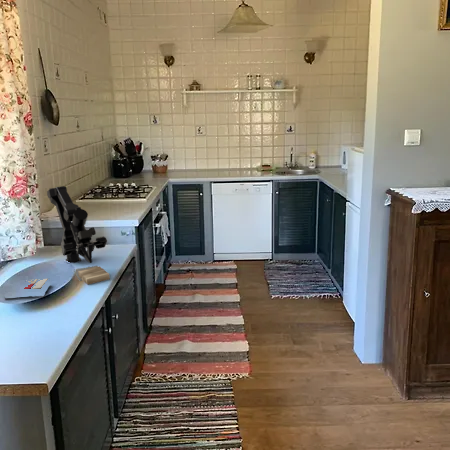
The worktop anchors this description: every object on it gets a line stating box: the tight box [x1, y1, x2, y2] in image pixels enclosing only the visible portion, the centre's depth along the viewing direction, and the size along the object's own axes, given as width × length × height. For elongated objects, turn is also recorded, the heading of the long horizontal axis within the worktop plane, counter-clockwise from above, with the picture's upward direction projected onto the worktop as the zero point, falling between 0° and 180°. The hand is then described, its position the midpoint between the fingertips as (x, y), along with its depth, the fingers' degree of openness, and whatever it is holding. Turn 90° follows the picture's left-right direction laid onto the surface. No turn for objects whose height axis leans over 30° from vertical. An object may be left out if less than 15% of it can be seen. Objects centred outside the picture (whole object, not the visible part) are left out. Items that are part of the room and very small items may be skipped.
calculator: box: [24, 278, 49, 289], centre depth 189 cm, size 11×4×15 cm
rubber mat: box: [75, 265, 99, 282], centre depth 208 cm, size 16×10×1 cm, turn 25°
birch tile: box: [78, 266, 111, 286], centre depth 201 cm, size 2×10×12 cm
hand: (90, 262), depth 202 cm, fingers closed
